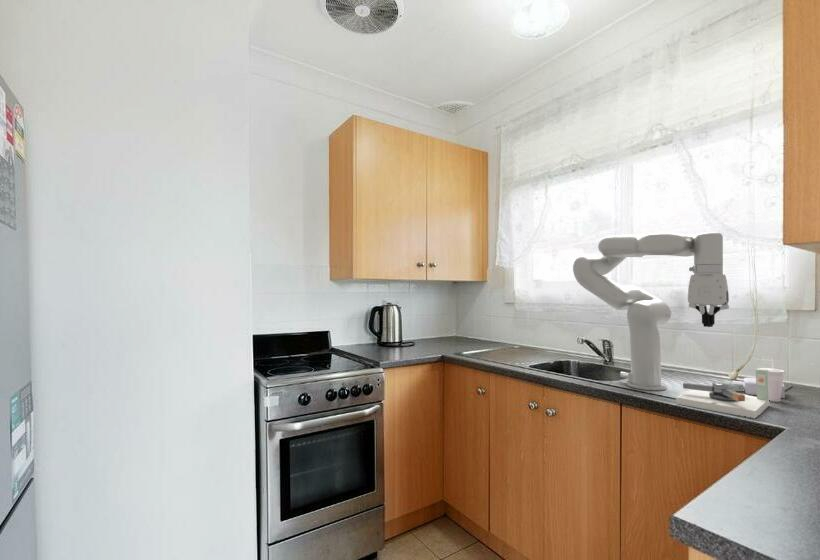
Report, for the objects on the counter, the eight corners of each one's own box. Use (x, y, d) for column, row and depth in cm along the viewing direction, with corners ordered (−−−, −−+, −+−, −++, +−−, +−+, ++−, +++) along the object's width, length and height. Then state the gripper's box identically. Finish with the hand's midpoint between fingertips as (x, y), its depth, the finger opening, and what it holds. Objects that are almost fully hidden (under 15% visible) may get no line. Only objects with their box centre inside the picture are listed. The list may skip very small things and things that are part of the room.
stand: (675, 403, 123) (674, 368, 123) (695, 393, 135) (694, 361, 135) (755, 418, 108) (754, 378, 109) (769, 405, 120) (768, 369, 121)
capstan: (708, 405, 113) (707, 390, 113) (681, 392, 128) (680, 379, 128) (776, 407, 111) (775, 392, 111) (740, 393, 125) (740, 380, 125)
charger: (724, 387, 143) (780, 393, 135) (725, 393, 136) (785, 399, 127) (724, 374, 144) (779, 379, 135) (725, 379, 136) (784, 385, 127)
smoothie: (791, 403, 122) (789, 358, 123) (767, 402, 124) (766, 357, 124) (776, 397, 129) (775, 354, 129) (754, 396, 130) (752, 354, 130)
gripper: (677, 270, 132) (677, 325, 132) (732, 269, 120) (732, 329, 120) (686, 271, 137) (686, 323, 137) (740, 270, 124) (740, 328, 124)
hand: (708, 326), depth 128 cm, fingers closed
